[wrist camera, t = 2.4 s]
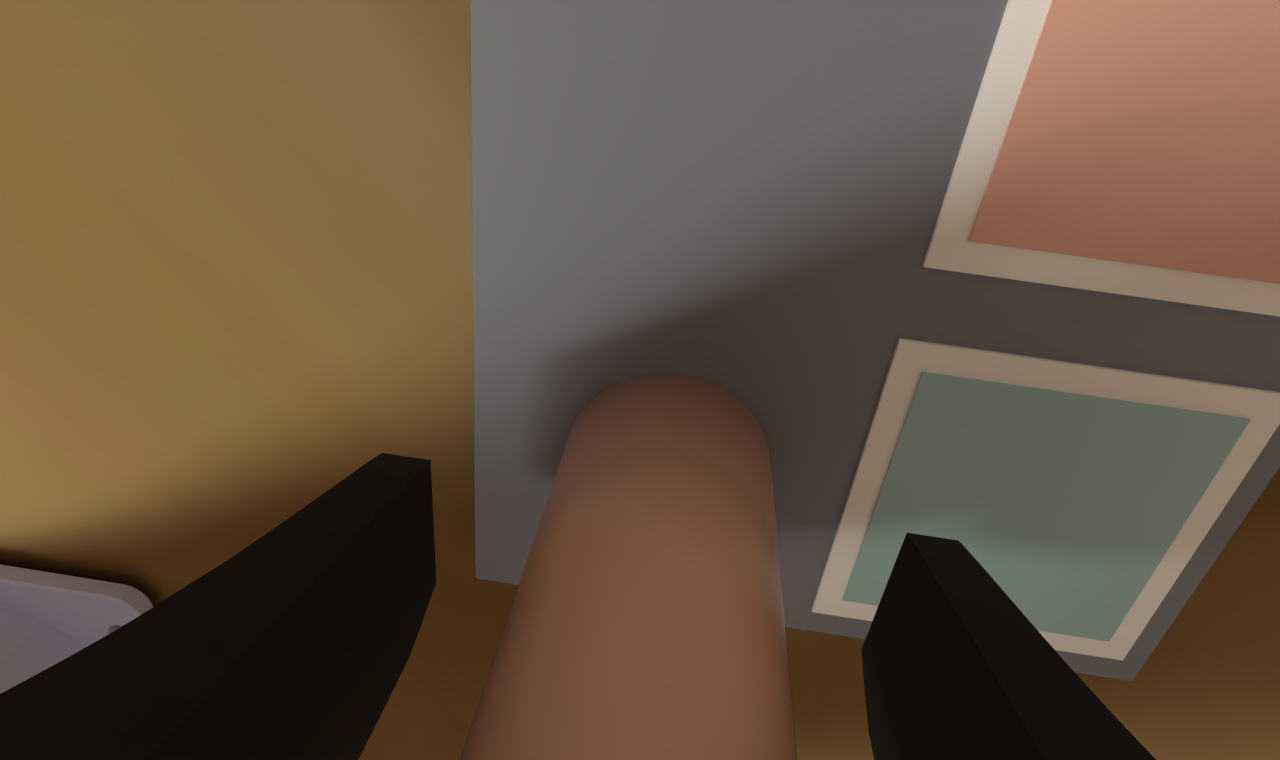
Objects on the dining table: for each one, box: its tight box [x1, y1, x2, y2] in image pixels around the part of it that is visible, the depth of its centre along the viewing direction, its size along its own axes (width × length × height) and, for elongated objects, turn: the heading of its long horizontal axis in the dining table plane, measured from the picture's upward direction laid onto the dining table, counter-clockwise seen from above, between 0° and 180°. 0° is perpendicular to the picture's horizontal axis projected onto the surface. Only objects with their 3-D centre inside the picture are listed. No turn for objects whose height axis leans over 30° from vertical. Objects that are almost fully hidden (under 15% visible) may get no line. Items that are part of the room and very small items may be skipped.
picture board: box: [471, 0, 1280, 681], centre depth 9 cm, size 12×11×1 cm
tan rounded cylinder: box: [461, 373, 797, 760], centre depth 7 cm, size 3×3×8 cm
